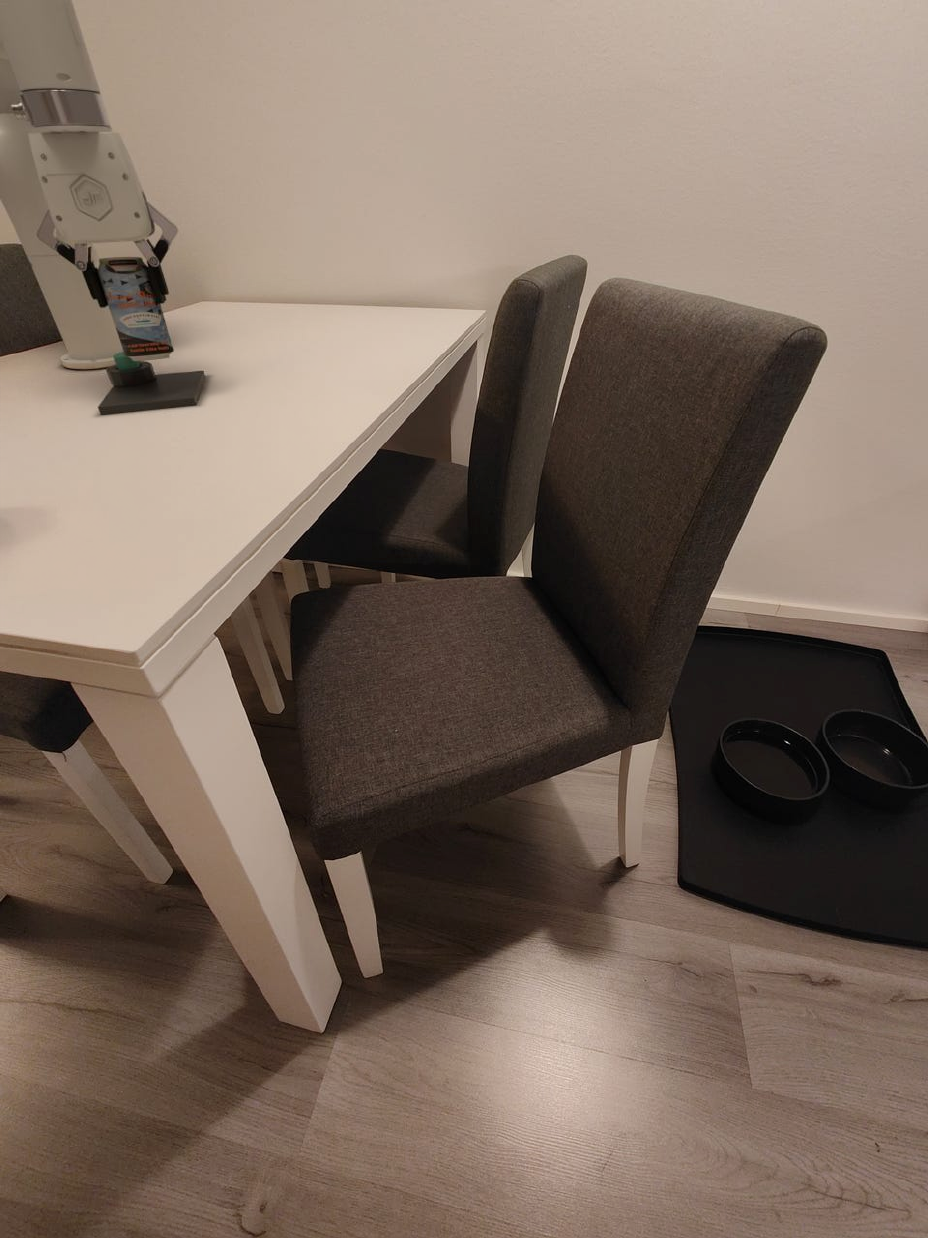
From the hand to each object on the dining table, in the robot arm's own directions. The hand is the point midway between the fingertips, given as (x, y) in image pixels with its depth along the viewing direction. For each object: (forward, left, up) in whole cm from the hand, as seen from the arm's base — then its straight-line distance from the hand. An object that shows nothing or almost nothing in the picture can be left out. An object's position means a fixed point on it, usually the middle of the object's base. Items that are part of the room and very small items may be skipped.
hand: (133, 302), depth 72 cm
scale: (-2, -2, -12) cm, 12 cm away
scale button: (-7, -5, -9) cm, 12 cm away
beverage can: (0, 0, -7) cm, 7 cm away
